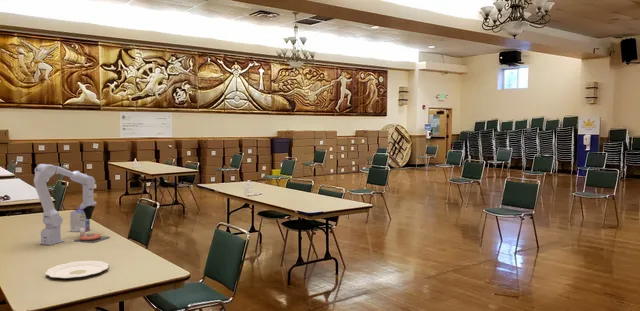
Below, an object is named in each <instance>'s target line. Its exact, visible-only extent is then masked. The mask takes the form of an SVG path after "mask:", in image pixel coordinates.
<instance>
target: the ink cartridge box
mask: <svg viewBox="0 0 640 311" xmlns="http://www.w3.org/2000/svg"><path fill="white" fill-rule="evenodd" d="M90 221H91V219H86V215H85V213H84V211H83V209H80V206H78V207H77V210H73V211H70V212H69V222H70V223H69V226H70V229H69V230H70V232H76V233H77V232H78V233H80V228H84V231H85V233H86V232H89V231H90V230H91V227H90V226H91V225H90V224H91V222H90ZM88 230H89V231H88Z"/></svg>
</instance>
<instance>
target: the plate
mask: <svg viewBox="0 0 640 311" xmlns="http://www.w3.org/2000/svg"><path fill="white" fill-rule="evenodd" d="M109 266H110V264H109V263H107V262H104V261H102V260H82V261H81V260H80V261H70V262H67V263H62V264H58V265H55V266H52V267H50V268H48V269H46V272H45V273H44V274H45V276H47V277H49V278H51V279H60V280H77V279H85V278H88V277H89V278H90V277H92V276H95V275H98V274H100V273H102V272H104V271H107V270H108V269H109ZM75 271H85V272H82V273H77V274H72V272H75Z"/></svg>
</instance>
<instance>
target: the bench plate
mask: <svg viewBox="0 0 640 311" xmlns="http://www.w3.org/2000/svg"><path fill="white" fill-rule="evenodd" d="M110 238H111V237H110V236H107V235H101V238H98V239H94V240H80V239H79V238H76V239H74V240H73V241H74V242H78V243H88V244H95V243H98V242H100V241H102V242H103V241H105V240H107V239H110Z"/></svg>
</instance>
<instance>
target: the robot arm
mask: <svg viewBox="0 0 640 311" xmlns="http://www.w3.org/2000/svg"><path fill="white" fill-rule="evenodd" d="M58 174H59V175H62V176H65V177H67V178H68V177H69V179H70V180H71V181H72V182H75V183H78V184H81V185H82V203H81V204H80V205H79V207H80V209H79V210H82V209H83V211H84V213H85V215H86V219H90V220H91V219H92V216H93V213H94V210H95V208H96V207H95V206H96V205H97V201H95V200H94V197H95V196H94V187H95V186H94V185H95V184H96V180H95V178H94V176H92V175H88V174H87V173H82V172H81V171H80V170H73V171H71V170H69V169H66V168H63V167H61V166H58V165H54V164H47V163H40V164H37V166H36V167H35V168H34V177H33V184H34V187H35V190H36V193H37V196H38V198H39V201H40V204H41V206H42V210H43V212H42V217H43V218H42V222H43V224H44V225H45V227H44V228H43V229H41V231H40V243H39V244H40V245H45V246H46V245H48V246H52V245H56V244H59V243H63V242H65V241H66V240H64V239H61V238H62V235H61V234H62V233H61V225H62V224H63V217H62V216H61V215H60V213H59V212H58V211H57V209H56V208H55V206H54V203H53V199H52V197H51V194H50V191H49V188H48V186H47V182H48V180H49V179H50V178H52V176H55V175H58Z"/></svg>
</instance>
